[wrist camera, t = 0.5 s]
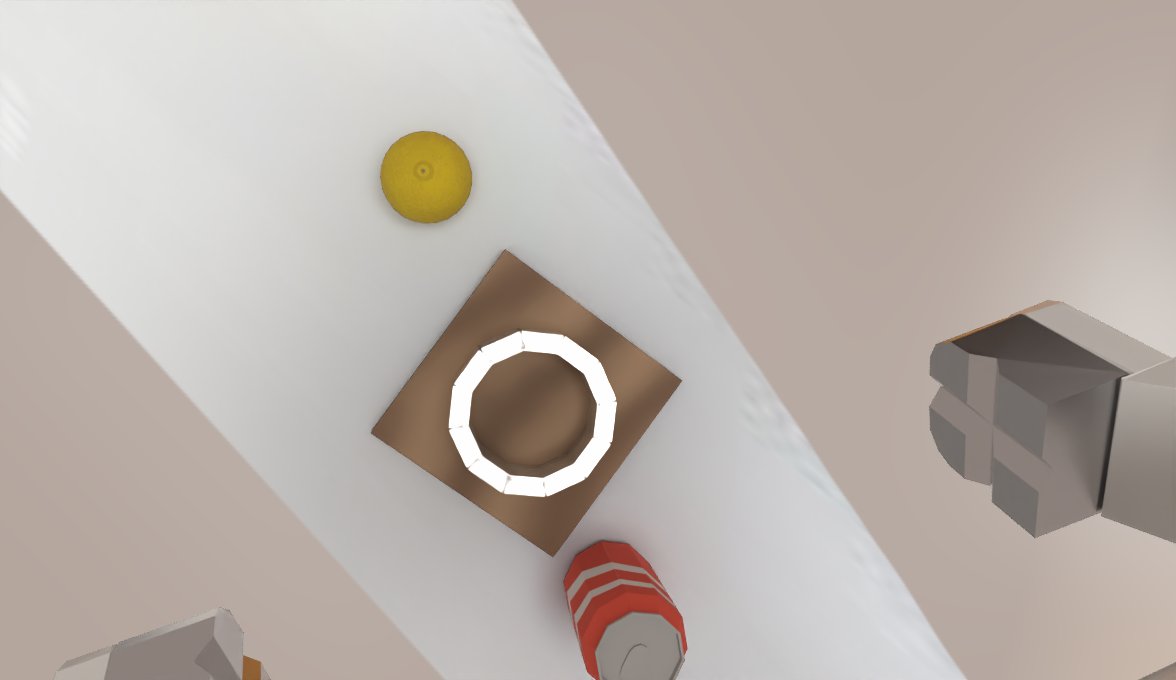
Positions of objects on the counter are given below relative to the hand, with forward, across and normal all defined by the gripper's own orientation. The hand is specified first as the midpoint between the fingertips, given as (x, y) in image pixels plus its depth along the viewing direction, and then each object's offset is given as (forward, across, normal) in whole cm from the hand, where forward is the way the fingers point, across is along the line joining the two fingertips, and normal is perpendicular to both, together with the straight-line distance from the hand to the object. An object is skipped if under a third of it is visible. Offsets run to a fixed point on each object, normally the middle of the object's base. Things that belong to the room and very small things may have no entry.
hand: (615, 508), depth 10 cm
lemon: (+49, +2, -12) cm, 51 cm away
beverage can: (+37, +5, -39) cm, 54 cm away
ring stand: (+42, +4, -26) cm, 50 cm away
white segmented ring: (+41, +4, -26) cm, 49 cm away
